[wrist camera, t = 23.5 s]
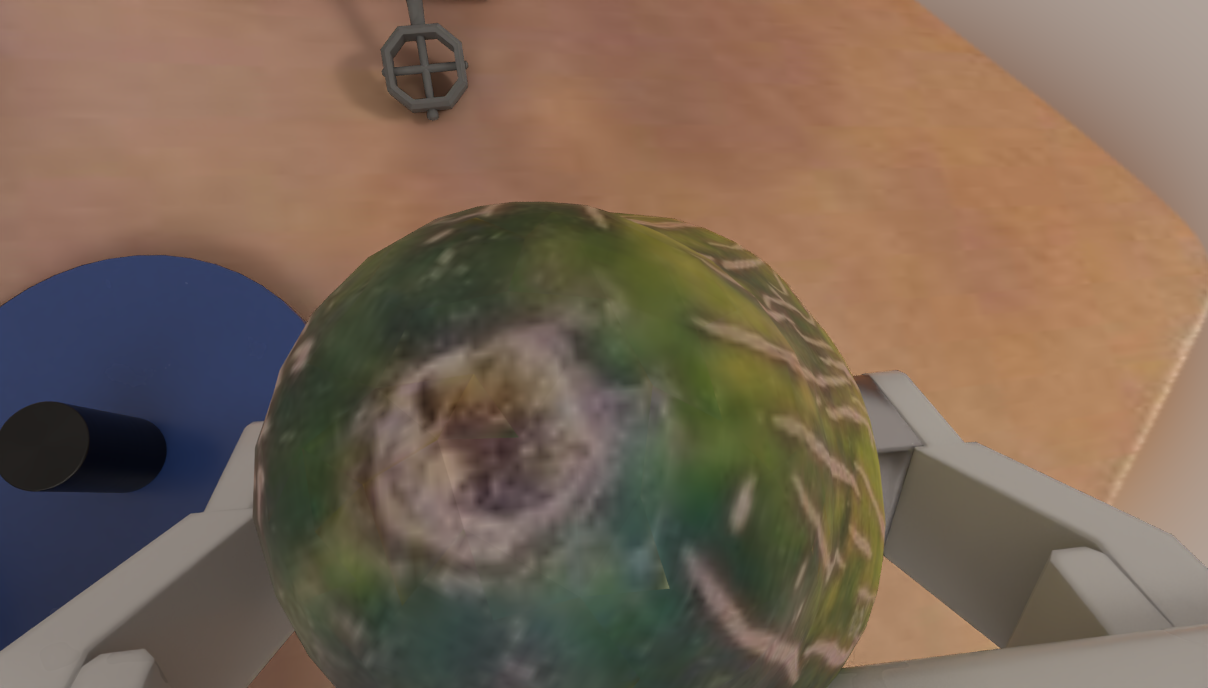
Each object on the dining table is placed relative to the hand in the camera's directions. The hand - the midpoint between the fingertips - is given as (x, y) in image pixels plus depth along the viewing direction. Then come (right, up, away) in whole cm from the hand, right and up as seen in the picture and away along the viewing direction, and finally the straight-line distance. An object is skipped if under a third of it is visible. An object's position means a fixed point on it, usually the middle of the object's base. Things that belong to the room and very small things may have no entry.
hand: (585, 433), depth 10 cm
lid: (-15, -2, +14) cm, 20 cm away
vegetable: (-1, -3, +12) cm, 13 cm away
